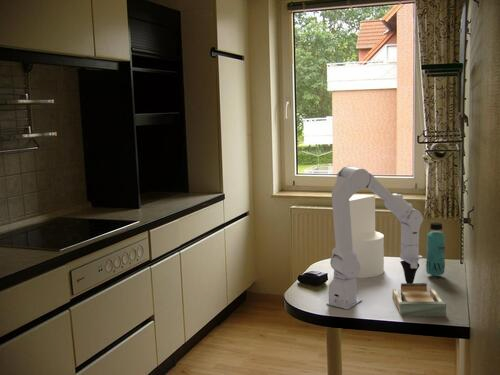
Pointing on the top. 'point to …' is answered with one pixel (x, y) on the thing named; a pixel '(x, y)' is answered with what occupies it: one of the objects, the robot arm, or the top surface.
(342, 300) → the robot arm
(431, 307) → the pale green tray
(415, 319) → the top surface
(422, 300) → the small wooden block
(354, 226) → the white tall stepped piece
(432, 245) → the beverage bottle
